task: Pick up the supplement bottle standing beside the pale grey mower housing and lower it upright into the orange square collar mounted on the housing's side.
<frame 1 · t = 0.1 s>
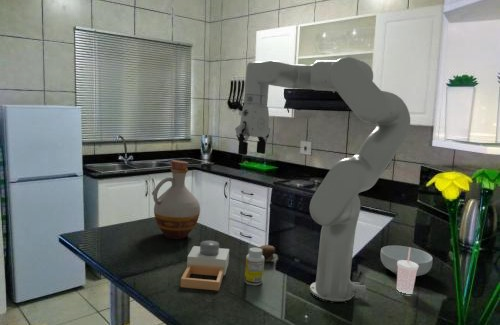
hand: (251, 153, 134), 37 cm above the worktop, fingers open, 9 cm apart
mushroom: (264, 262, 141), on the worktop
mower housing: (208, 267, 131), on the worktop
beverage cup: (404, 292, 124), on the worktop
supplement bottle: (253, 282, 123), on the worktop
jug: (173, 236, 160), on the worktop
cereal bowl: (403, 273, 140), on the worktop
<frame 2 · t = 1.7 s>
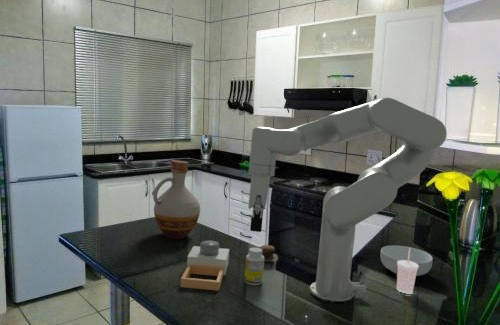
hand: (256, 226, 121), 17 cm above the worktop, fingers open, 9 cm apart
nothing on the worktop moved.
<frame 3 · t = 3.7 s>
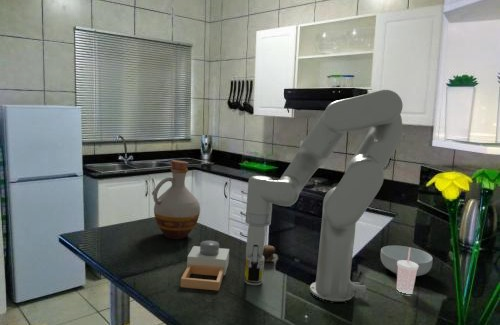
hand: (253, 275, 123), 2 cm above the worktop, fingers closed on supplement bottle, 5 cm apart
supplement bottle: (253, 282, 123), on the worktop, touching gripper
everything else where it was.
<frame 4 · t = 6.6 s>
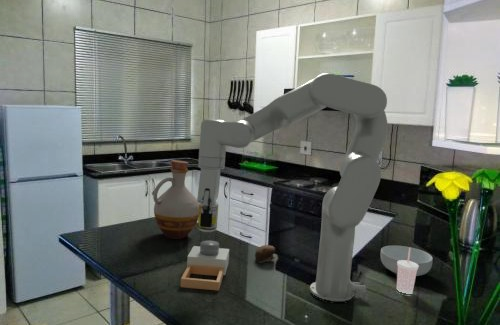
hand: (207, 223, 119), 18 cm above the worktop, fingers closed on supplement bottle, 5 cm apart
supplement bottle: (207, 230, 119), point 16 cm above the worktop, touching gripper
everything else where it was.
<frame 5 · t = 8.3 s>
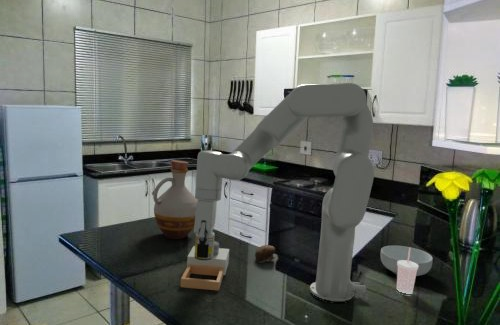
hand: (204, 252, 120), 9 cm above the worktop, fingers closed on supplement bottle, 5 cm apart
supplement bottle: (203, 260, 120), point 6 cm above the worktop, touching gripper
everything else where it was.
when the fingers open (4 cm above the worktop, at t = 9.6 s): supplement bottle drops 2 cm, resting in mower housing.
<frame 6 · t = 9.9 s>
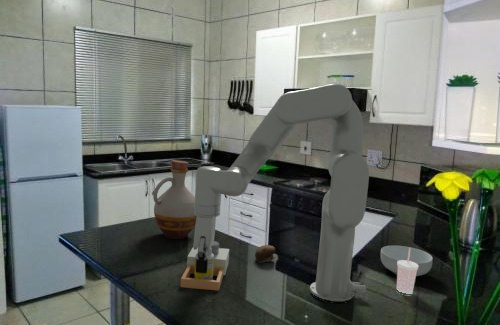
hand: (203, 266, 120), 4 cm above the worktop, fingers open, 7 cm apart
supplement bottle: (203, 281, 121), resting in mower housing
everything else where it was.
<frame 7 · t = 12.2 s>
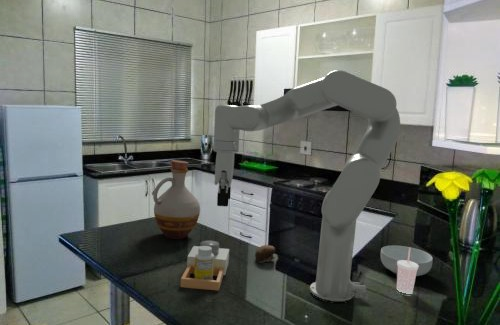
hand: (223, 202, 124), 23 cm above the worktop, fingers open, 9 cm apart
nothing on the worktop moved.
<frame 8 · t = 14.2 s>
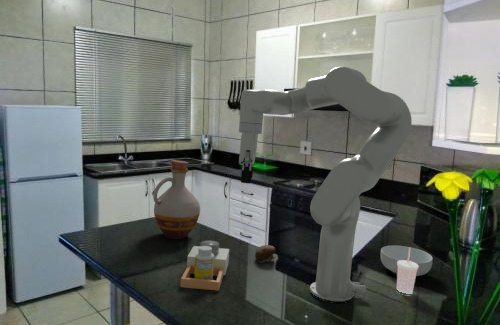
hand: (246, 180, 134), 28 cm above the worktop, fingers open, 9 cm apart
nothing on the worktop moved.
at the end: supplement bottle 0.2 cm from the target spot on the mower housing, point 0.0 cm above the mower housing's base; supplement bottle tilted 0°; the gripper is holding nothing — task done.
